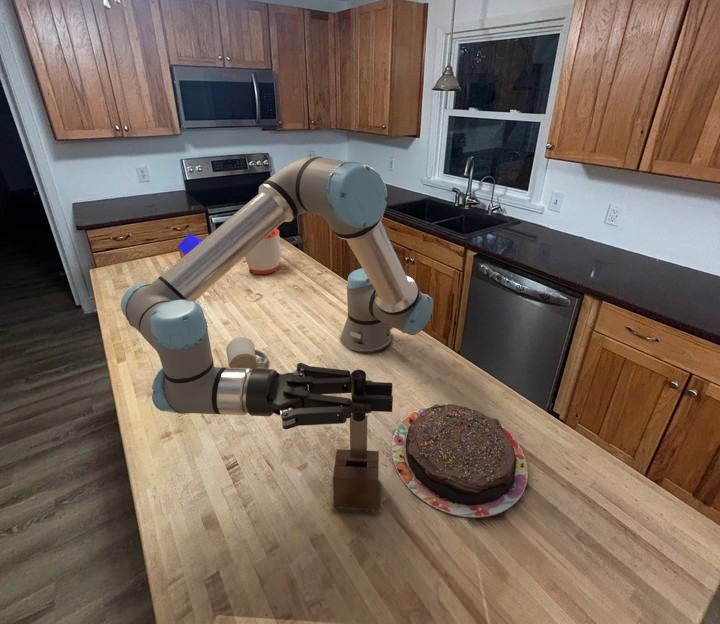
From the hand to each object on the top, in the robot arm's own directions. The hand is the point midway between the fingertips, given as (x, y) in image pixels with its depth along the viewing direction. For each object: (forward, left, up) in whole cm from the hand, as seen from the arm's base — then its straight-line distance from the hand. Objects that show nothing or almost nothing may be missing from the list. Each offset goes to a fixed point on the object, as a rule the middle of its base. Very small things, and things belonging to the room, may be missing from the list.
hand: (391, 397), depth 64 cm
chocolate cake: (-18, -1, -25) cm, 31 cm away
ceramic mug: (+14, -52, -25) cm, 59 cm away
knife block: (+5, -3, -25) cm, 25 cm away
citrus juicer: (-7, -114, -25) cm, 117 cm away
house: (+16, -133, -25) cm, 136 cm away
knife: (+5, -3, -15) cm, 16 cm away
